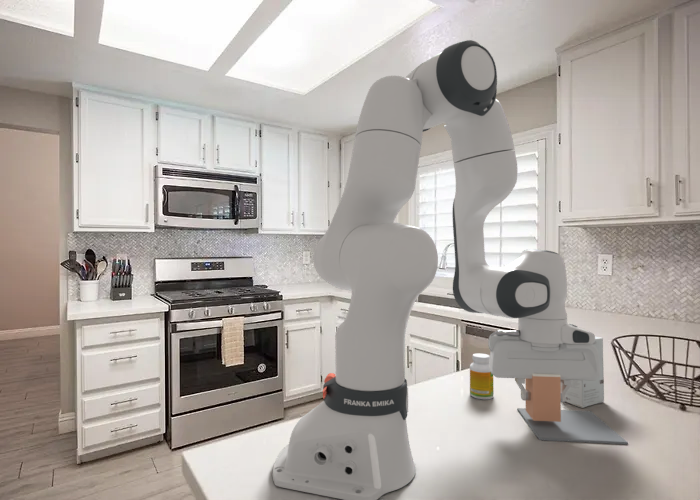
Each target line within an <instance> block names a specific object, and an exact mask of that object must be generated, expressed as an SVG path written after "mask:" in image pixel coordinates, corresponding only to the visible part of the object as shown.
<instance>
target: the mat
mask: <svg viewBox="0 0 700 500" xmlns="http://www.w3.org/2000/svg"><path fill="white" fill-rule="evenodd" d="M516 410H517V411H518V413H519V414H520V415H521V417H522V419H523V420H524V421H525V422H526V424H527V425H528V427H529V428H530V429H531V430H532V432H533V433H534V434H535V436H536V438H537V439H538V440H539V441H553V442H568V443H569V442H570V443H571V442H573V443H575V442H576V443H590V444H591V443H594V444H611V445H613V444H614V445H628V444H629V442H628V441H627V440H626V439H624V437H623V436H621V435H620V434H619V433H617V432H616V431H615V430H614V429H613V428H612V427H610V426H609V425H608V424H607V423H606V422H604V421H603V420H602V419H601V418H600V417H599V416H597V415H596V414H595V413H594V412H593V411H591V410H575V409H574V410H573V409H572V410H571V409H570V410H568V409H561V422H556V421H534V420H533V419H532V418H531V417H530V415H529V414H528V413H527V411H526V407H525V408H522V407H521V408H520V407H518V408H517V409H516Z"/></svg>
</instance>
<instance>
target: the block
mask: <svg viewBox="0 0 700 500" xmlns="http://www.w3.org/2000/svg"><path fill="white" fill-rule="evenodd" d="M524 385H525V389H528V390H529V391H530V392H531V396H530V397H531V401H527V400H526V401H525V408H526V411H527V413H528V414H529V415H530V417H531V418H532V419H533V420H534V421H556V422H561V410H562V407H561V406H562V405H561V404H562V402H561V375H560V374H543V373H532V379H525V384H524Z"/></svg>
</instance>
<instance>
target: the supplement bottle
mask: <svg viewBox="0 0 700 500" xmlns="http://www.w3.org/2000/svg"><path fill="white" fill-rule="evenodd" d="M489 359H490V354H486V353H479V352H478V353H473V354H472V361H473V362H471V363H470V365H469V396H471V397H472V398H474V399H477V400H484V401H485V400H492V399H493V398H494V375H493V374H492V373H491V372H490V370H489Z"/></svg>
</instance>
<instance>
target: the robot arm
mask: <svg viewBox="0 0 700 500" xmlns="http://www.w3.org/2000/svg"><path fill="white" fill-rule="evenodd" d="M497 73H498V71H497V67H496V62H495V60H494V56H492V54H491V53H490V52H489V50H488V49H487V48H486V47H485V46H483V45H482V44H481V43H479V42H477V41H475V40H470V39H469V40H463V41H459V42H458V41H457V42H455V43H454V44H451V45H449V46H446V47H445V48H444V49H443V50H442V51H441V52H440V53H438V54H436V55H434V56H432V57H431V58H429V59H428V60H426V61H424V62H421V64H419V65H418V66H417V67H415V68H414V69H413V70H412V71H411V72H410V73H408V74H407V75H406V77H405V76H401V75H387V76H384V77H381V78H379V79H377V80H375V81H374V82H373V83H372V85H371V86H370V87H369V89H368V92H367V93H366V97H365V99H364V102H363V105H362V107H361V111H360V114H359V119H358V121H357V125H356V132H355V136H354V142H353V149H352V154H351V159H350V164H349V169H348V173H347V174H348V175H347V178H346V183H345V187H344V190H343V193H342V195H341V197H340V200H339V203H338V205H337V207H336V209H335V213H334V214H333V217H332V219H331V222H330V224H329V226H328V228H327V230H326V232H325V233H324V234H323V236H322V237H321V238H320V239H319V241H318V242H317V243H316V245H315V247H314V250H313V256H312V257H313V265H314V269H315V272H316V273H317V274H318V276H319V277H320V278H321V279H322V280H323V281H325V282H327V283H328V284H330V285H332V286H333V287H335V288H338V289H340V290H345V291H351V297H350V302H349V306H348V310H347V312H346V316H345V319H344V320H343V322H341V323H340V324H339V326H338V327H337V329H336V332H335V335H334V339H335V347H334V348H335V351H334V352H335V353H334V354H335V355H334V356H335V357H334V358H335V359H334V361H335V362H334V363H335V373H333V372H330V373H328V374H327V375H326V377H325V378H324V382H323V385H322V398H323V399H322V400H323V401H322V402H320V403H319V404H318V405H317V406H315V407H313V408H312V409H311V410H310V411H309V412H307V413H306V414H304V415H303V416H301V418H299V420H298V421H297V422H296V424H295V426H294V427H293V430H292V432H291V434H290V437H289V442H288V444H287V445H286V446H285V447H283V449H282V450H281V451H280V452H279V454H278V456H277V457H276V458H275V461H274V465H273V467H272V480H273V483H274V485H275V486H276V487H279V488H284V489H288V490H294V491H299V492H305V493H308V494H309V493H310V494H314V495H319V496H323V497H329V498H335V499H340V500H379V499H380V498H381V497H382V496H384V495H385V494H388V493H390V492H393V491H396V490H399V489H401V488H403V487H405V486H406V485H407V484H409V483H410V482H411V481H412V480H413V479H414V477H415V474H416V464H415V461H414V457H413V454H412V450H411V444H410V440H409V433H408V423H407V417H408V413H409V387H408V380H407V379H406V378H405V357H406V356H405V354H406V353H405V352H406V348H405V347H406V334H407V333H406V332H407V326H408V323H409V319H410V315H411V312H412V310H413V307H414V305H415V303H416V301H417V299H418V298H419V296H420V295H421V294H422V293H423V292H424V291H425V290H426V289H427V288H429V286H430V285H431V283H432V282H433V281H434V278H435V277H436V274H437V271H438V265H439V256H438V255H439V254H438V250H437V247H436V243H435V241H434V240H433V238H432V237H431V235H430V234H428V232H427V231H425V230H424V229H422V228H421V227H417V226H413V225H409V224H405V223H399V222H395V219H396V218H397V215H398V214H399V212H400V211H401V210H402V208H403V207H404V206H405V205H406V204H408V202H409V201H410V200H411V198H412V197H413V195H414V193H415V189H416V183H417V175H418V170H419V169H418V168H419V164H420V156H421V149H422V141H423V133H424V132H426V131H428V130H430V129H433V128H435V127H438V126H441V125H444V126H443V128H444V130H446V132H447V133H448V135H449V137H450V141H451V154H452V160H453V167H454V176H455V192H454V193H455V195H454V199H453V203H452V231H453V232H452V233H453V246H454V263H455V264H454V265H455V266H454V274H453V281H452V293H453V294H452V295H453V298H454V299H455V302H456V304H457V305H458V306H459V307H460V308H461V309H462V310H464V311H465V312H469V313H473V314H474V313H476V314H486V315H489V316H496V317H503V318H506V319H517V320H518V323H517V325H518V330H511V329H510V330H502V329H499V330H495V332H492V333H491V334H490V335H489V337H488V349H489V351H490V352H489V353H490V354H489V356H490V359H489V370H490V372H491V373H492V374H493V377H495V378H498V379H499V378H501V379H514V381H515V383H516V385H517V387H518V389H520V398H521V400H522V401H525V402H526V400H527V401H531V397H530V396H531V392H530V391H529V390H528V389H526V387H525V386H524V385H525V379H532V373H543V374H560V375H561V383H562V384H561V403H566V402H565V394H566V392H567V391H568V389H569V388H570V386H571V380H588V381H596V380H597V379H598V378H599V376H600V360H599V354H598V351H597V349H596V347H595V346H594V345H592V344H593V343H594V342H595V337H596V335H595V334H594V333H593V332H592V331H590V330H587V329H585V328H582V327H579V326H578V325H576V324H572V323H568V314H567V311H566V301H567V297H568V280H567V279H568V278H567V270H566V265H565V262H564V261H565V260H564V258H563V257H562V255H561V254H559V253H557V252H555V251H552V250H545V249H540V248H538V249H536V248H533V249H532V248H530V249H529V248H528V249H525V250H522V252H521V253H520V255H519V256H518V257H517V258H515V260H513V261H512V262H510V263H508V264H504V265H503V266H490V265H488V263H487V261H486V256H485V255H486V251H485V235H484V226H485V225H484V224H485V222H486V218H487V216H489V214H490V212H492V210H494V208H496V207H497V206H498V205H499V204H501V203H502V202H503V201H504V200H505V199H507V198H508V197H509V195H510V194H511V193H512V191H513V190H514V189H515V187H516V184H517V180H518V162H517V161H518V160H517V155H516V150H515V145H514V139H513V134H512V132H511V127H510V124H509V121H508V118H507V115H506V112H505V110H504V108H503V105H502V104H501V102H500V101H499V100H498V99H497V89H498V88H497V86H498V74H497Z"/></svg>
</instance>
